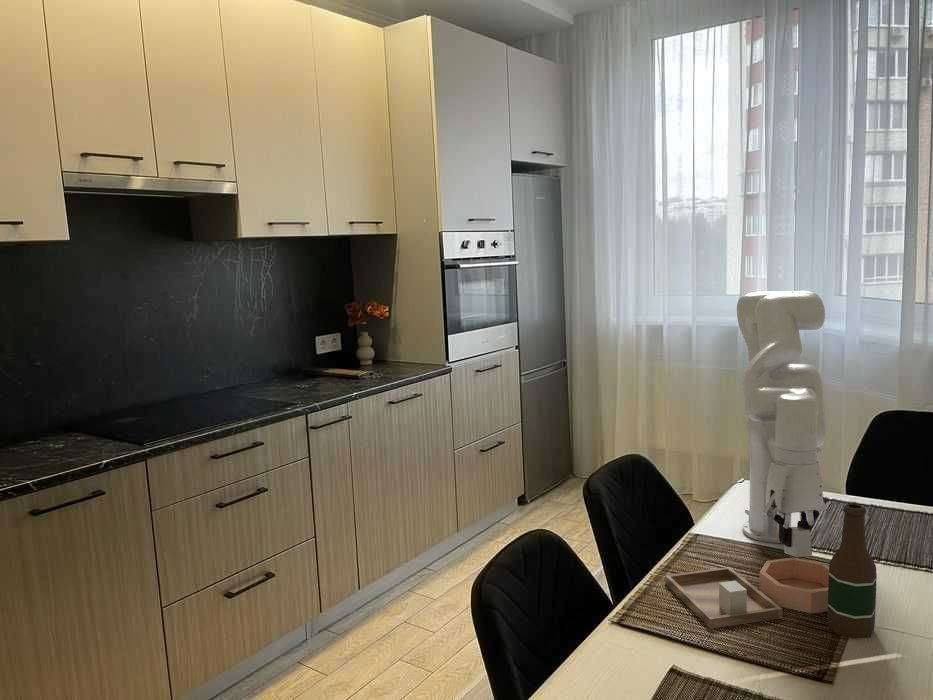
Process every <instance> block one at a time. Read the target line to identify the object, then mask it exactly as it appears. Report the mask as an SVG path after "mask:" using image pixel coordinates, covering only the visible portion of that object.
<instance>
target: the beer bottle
mask: <svg viewBox="0 0 933 700" xmlns="http://www.w3.org/2000/svg"><path fill="white" fill-rule="evenodd" d="M842 512H843V513H844V515H843V525H842V533H841V534H842V535H841V542H840V545H839V548H838V549H837V550H836V551H835V553H833V555H832V557H831V559H830V561H829V565H828V566H829V578H828V611H827V614H826V615H827V617H826V618H827V626H828V628H830V629H831V630H832V631H833V632H834V633H835V634H837V635H840V636H843V637H847V638H850V639H853V640H856V639H857V640H859V639H868V638H871V637H872V636H873V633H874V632H875V628H876V627H875V625H876V605H877V604H876V603H877V601H876V600H877V579H878V578H877V575H878V574H877V565H876V563H875V560H874V558H873V556H872V555H871V553H870V552H869V551H868V549H867V543H866V524H865V523H866V520H865V515H866V514H867V508H866V507H865V506H863V505H862V504H859V503H846V504H845V505H844V506H843V509H842Z"/></svg>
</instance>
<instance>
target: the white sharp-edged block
mask: <svg viewBox="0 0 933 700" xmlns="http://www.w3.org/2000/svg"><path fill="white" fill-rule="evenodd" d="M719 607H720V608H721V609H722V610H723V611H724V612H725V613H726V614H734V613H741V612H747V590H746V589H745V588H744V587H743V586H742V585H740V584H739V583H738V582H737V581H729V582H721V583H719Z"/></svg>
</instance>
